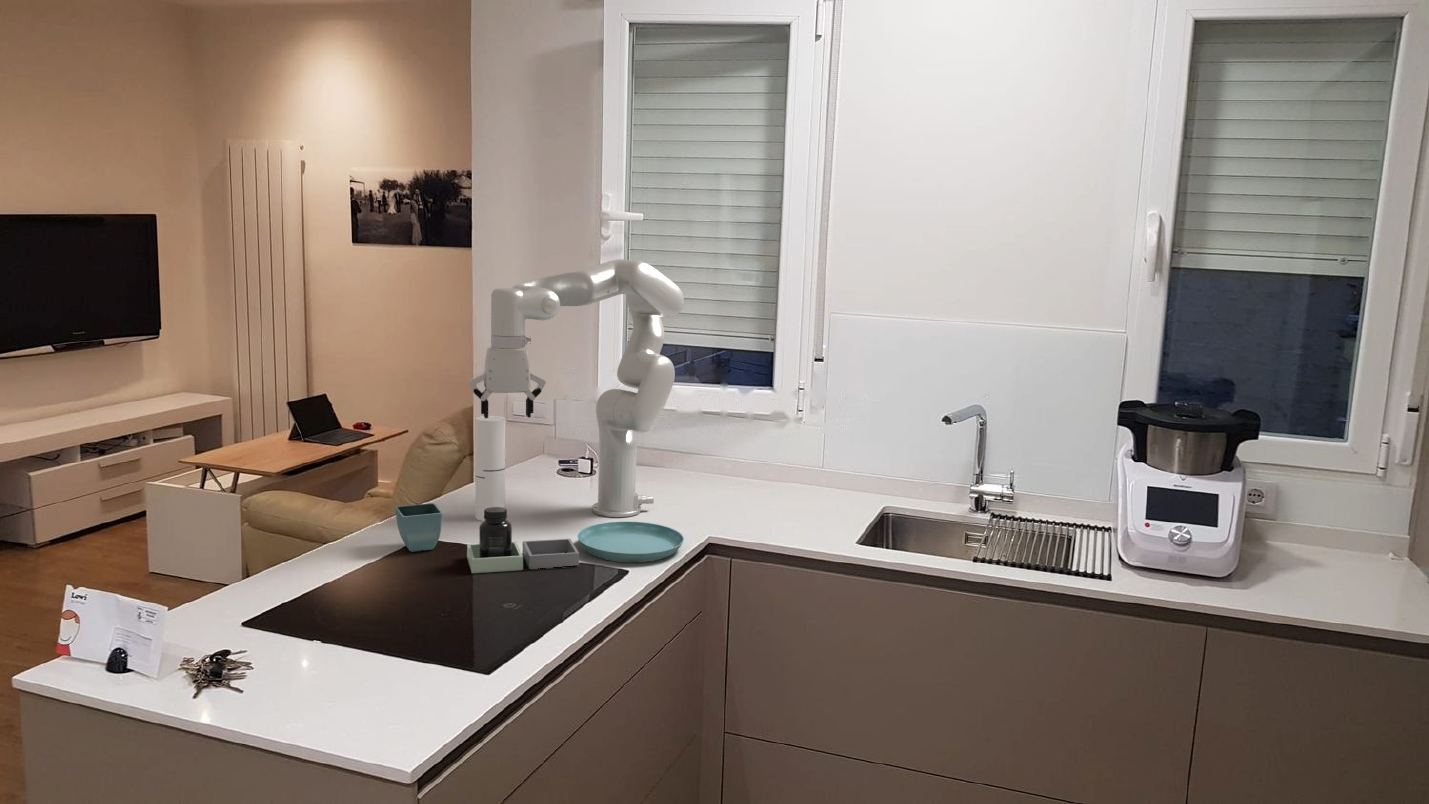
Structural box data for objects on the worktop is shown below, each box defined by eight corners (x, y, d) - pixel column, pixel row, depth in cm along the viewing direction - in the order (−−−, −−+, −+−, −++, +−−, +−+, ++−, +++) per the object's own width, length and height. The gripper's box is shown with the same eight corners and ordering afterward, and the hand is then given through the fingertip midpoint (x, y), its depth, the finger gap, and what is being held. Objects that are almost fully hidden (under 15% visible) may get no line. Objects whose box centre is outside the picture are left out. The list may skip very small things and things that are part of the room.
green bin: (516, 554, 233) (516, 541, 233) (522, 570, 223) (522, 556, 223) (467, 557, 230) (467, 544, 229) (471, 573, 220) (471, 559, 219)
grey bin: (569, 551, 237) (570, 538, 236) (578, 566, 227) (579, 553, 226) (522, 554, 234) (522, 541, 233) (529, 569, 224) (529, 555, 223)
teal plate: (604, 573, 224) (605, 558, 224) (560, 541, 245) (561, 527, 244) (702, 558, 237) (703, 544, 236) (653, 529, 257) (653, 516, 257)
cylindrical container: (501, 521, 257) (501, 421, 253) (472, 520, 258) (472, 420, 253) (507, 514, 265) (508, 416, 260) (479, 512, 265) (479, 415, 260)
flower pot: (402, 556, 229) (402, 516, 227) (395, 544, 237) (394, 506, 235) (443, 551, 233) (443, 512, 232) (434, 540, 241) (434, 502, 239)
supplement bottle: (517, 561, 229) (518, 507, 227) (501, 570, 222) (501, 515, 220) (489, 556, 231) (490, 503, 229) (473, 565, 225) (473, 511, 223)
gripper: (543, 341, 245) (542, 413, 248) (467, 340, 240) (467, 414, 243) (548, 344, 238) (547, 419, 241) (470, 344, 233) (470, 420, 236)
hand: (507, 416), depth 242 cm, fingers open, 9 cm apart
